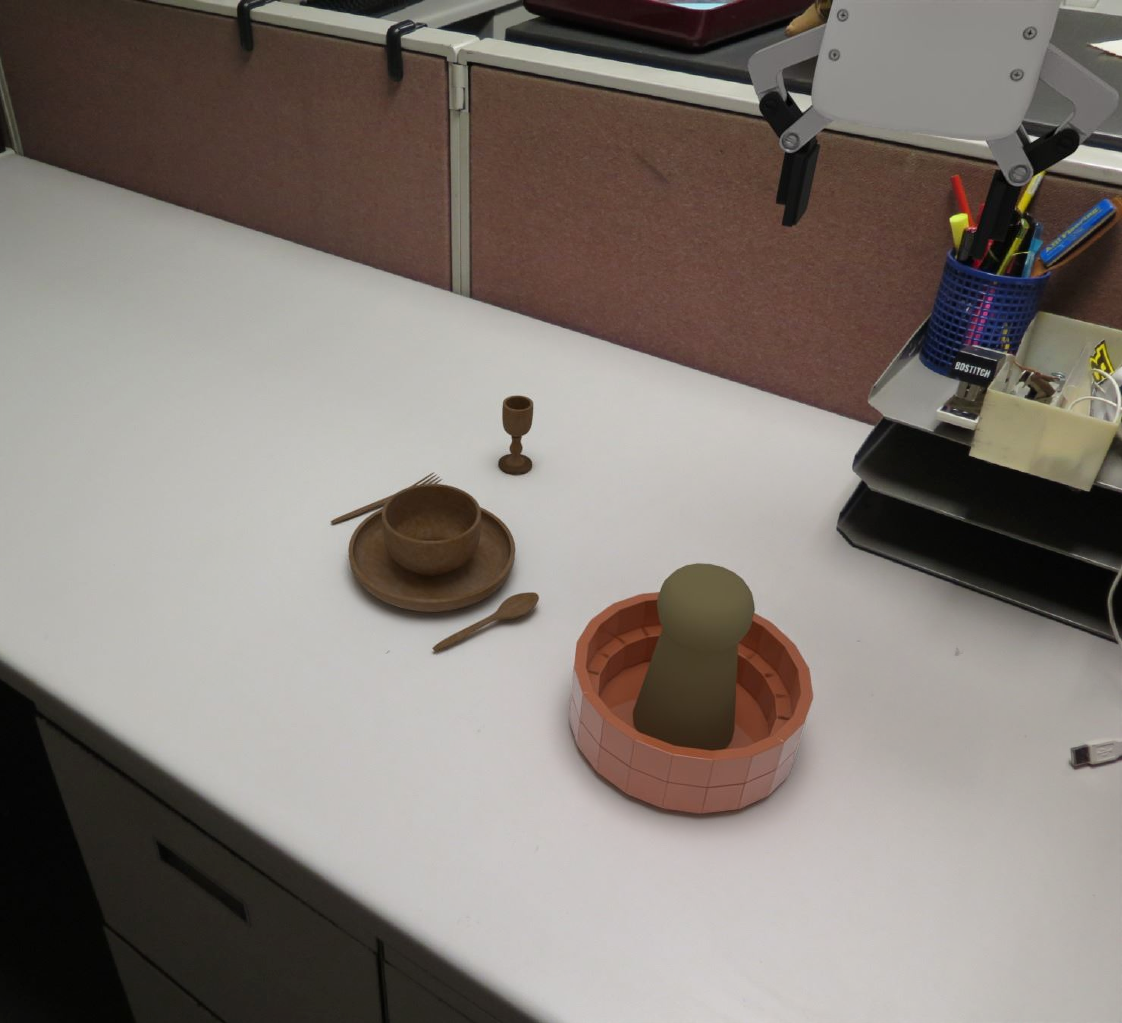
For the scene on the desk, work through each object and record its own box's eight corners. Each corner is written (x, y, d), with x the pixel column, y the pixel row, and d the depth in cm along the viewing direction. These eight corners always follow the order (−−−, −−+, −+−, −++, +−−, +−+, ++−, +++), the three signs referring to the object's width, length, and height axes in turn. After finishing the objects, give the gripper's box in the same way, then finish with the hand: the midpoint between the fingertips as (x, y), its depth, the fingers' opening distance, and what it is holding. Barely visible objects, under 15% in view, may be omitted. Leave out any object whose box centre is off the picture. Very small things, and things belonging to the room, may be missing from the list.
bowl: (817, 692, 66) (834, 634, 63) (762, 855, 56) (779, 795, 53) (615, 623, 71) (622, 567, 68) (533, 762, 61) (538, 703, 58)
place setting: (301, 529, 79) (294, 465, 76) (514, 448, 88) (517, 387, 84) (426, 668, 68) (424, 599, 64) (657, 559, 76) (668, 494, 73)
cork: (627, 749, 61) (649, 610, 55) (637, 677, 66) (657, 540, 60) (733, 768, 60) (768, 628, 54) (735, 693, 65) (767, 555, 58)
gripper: (1198, -132, 46) (1062, 239, 56) (801, -147, 53) (744, 187, 63) (1205, -113, 41) (1053, 292, 51) (762, -133, 48) (707, 230, 58)
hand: (883, 234), depth 57 cm, fingers open, 9 cm apart
